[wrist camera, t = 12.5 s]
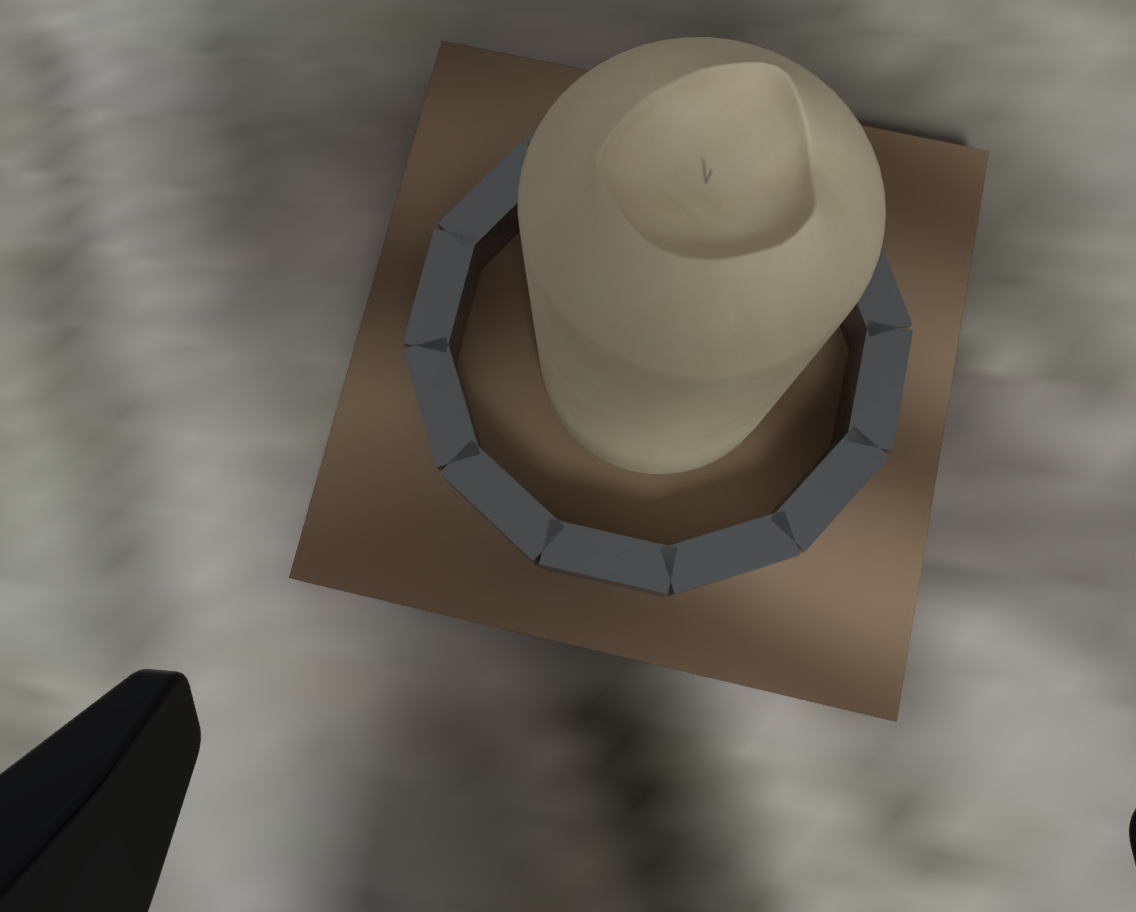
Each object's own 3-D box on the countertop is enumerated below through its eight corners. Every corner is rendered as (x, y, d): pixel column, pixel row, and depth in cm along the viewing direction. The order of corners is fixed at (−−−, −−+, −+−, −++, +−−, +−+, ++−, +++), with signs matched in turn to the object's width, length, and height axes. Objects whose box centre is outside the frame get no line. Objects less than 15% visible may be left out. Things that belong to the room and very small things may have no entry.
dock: (882, 718, 22) (920, 728, 19) (301, 580, 23) (267, 573, 20) (973, 170, 24) (1016, 117, 22) (447, 64, 25) (432, 2, 23)
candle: (644, 211, 23) (689, -101, 13) (820, 352, 23) (1004, 132, 13) (493, 373, 23) (425, 170, 13) (671, 526, 22) (742, 434, 12)
